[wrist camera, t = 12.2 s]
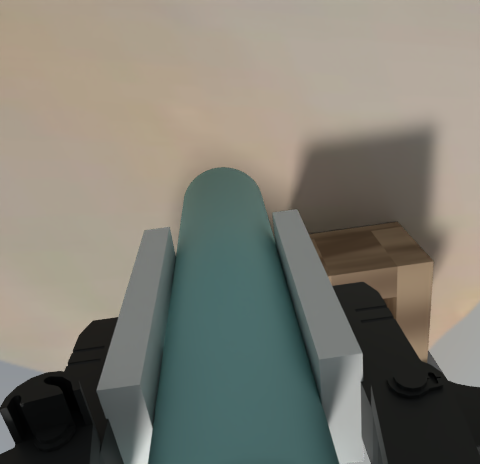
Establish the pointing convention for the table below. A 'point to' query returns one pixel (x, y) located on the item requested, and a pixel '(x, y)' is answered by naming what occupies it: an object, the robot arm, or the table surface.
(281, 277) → the dowel
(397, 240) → the block
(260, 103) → the table surface
